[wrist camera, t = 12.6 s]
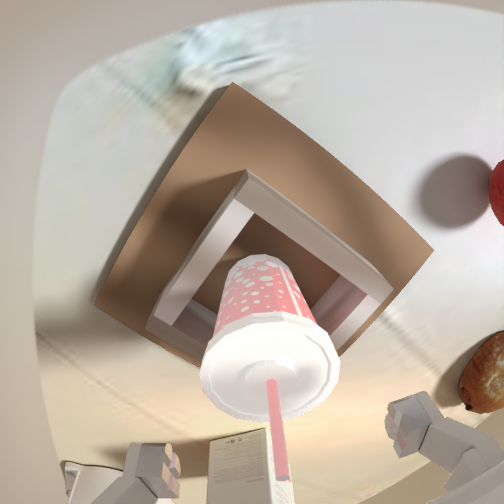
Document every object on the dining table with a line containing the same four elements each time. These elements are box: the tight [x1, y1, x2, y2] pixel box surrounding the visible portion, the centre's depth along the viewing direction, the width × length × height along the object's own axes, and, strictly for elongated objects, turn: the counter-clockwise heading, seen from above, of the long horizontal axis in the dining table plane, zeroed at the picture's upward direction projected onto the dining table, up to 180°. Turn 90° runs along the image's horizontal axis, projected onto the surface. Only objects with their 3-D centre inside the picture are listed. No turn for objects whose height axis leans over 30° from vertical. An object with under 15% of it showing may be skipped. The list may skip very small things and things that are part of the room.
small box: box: [206, 428, 295, 504], centre depth 24 cm, size 8×6×13 cm
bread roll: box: [458, 331, 504, 414], centre depth 26 cm, size 10×10×8 cm
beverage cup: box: [199, 254, 340, 482], centre depth 15 cm, size 6×6×14 cm
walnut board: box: [94, 82, 434, 368], centre depth 20 cm, size 18×18×5 cm
